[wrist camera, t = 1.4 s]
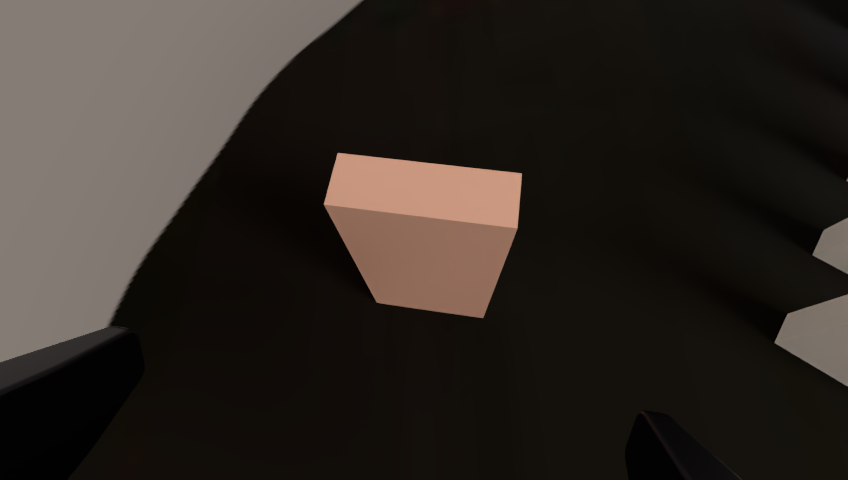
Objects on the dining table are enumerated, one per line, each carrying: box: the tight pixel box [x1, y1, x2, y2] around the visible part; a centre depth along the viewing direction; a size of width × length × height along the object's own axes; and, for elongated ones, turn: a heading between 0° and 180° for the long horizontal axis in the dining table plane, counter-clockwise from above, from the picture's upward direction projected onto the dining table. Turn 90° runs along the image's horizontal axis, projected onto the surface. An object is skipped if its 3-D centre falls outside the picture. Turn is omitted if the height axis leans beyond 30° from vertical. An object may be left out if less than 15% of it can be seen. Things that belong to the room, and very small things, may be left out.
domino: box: [324, 153, 522, 318], centre depth 16 cm, size 2×5×10 cm, turn 81°
